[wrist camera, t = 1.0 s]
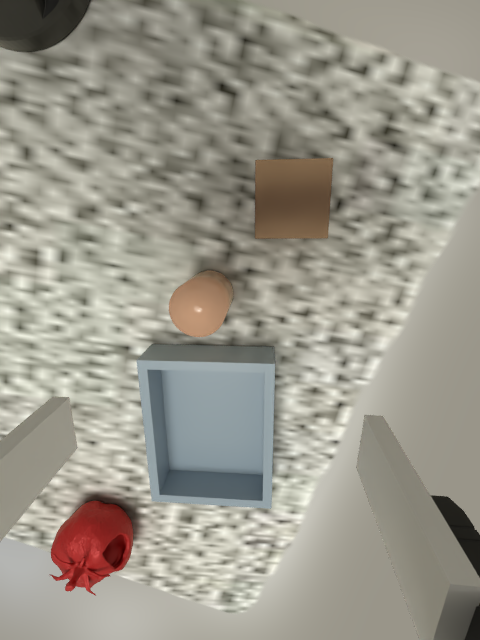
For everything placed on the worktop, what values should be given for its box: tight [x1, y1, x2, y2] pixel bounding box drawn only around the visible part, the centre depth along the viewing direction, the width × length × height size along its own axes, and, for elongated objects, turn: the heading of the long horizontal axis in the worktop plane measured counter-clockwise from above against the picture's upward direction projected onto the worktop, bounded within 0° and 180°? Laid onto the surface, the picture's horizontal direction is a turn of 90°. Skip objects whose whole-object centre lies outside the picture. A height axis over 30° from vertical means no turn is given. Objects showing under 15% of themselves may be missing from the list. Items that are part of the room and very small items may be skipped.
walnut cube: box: [255, 158, 333, 239], centre depth 29 cm, size 6×6×6 cm
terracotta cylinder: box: [169, 270, 233, 337], centre depth 31 cm, size 5×5×7 cm
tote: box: [137, 344, 275, 508], centre depth 37 cm, size 18×14×5 cm
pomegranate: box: [51, 501, 133, 595], centre depth 41 cm, size 10×10×9 cm
